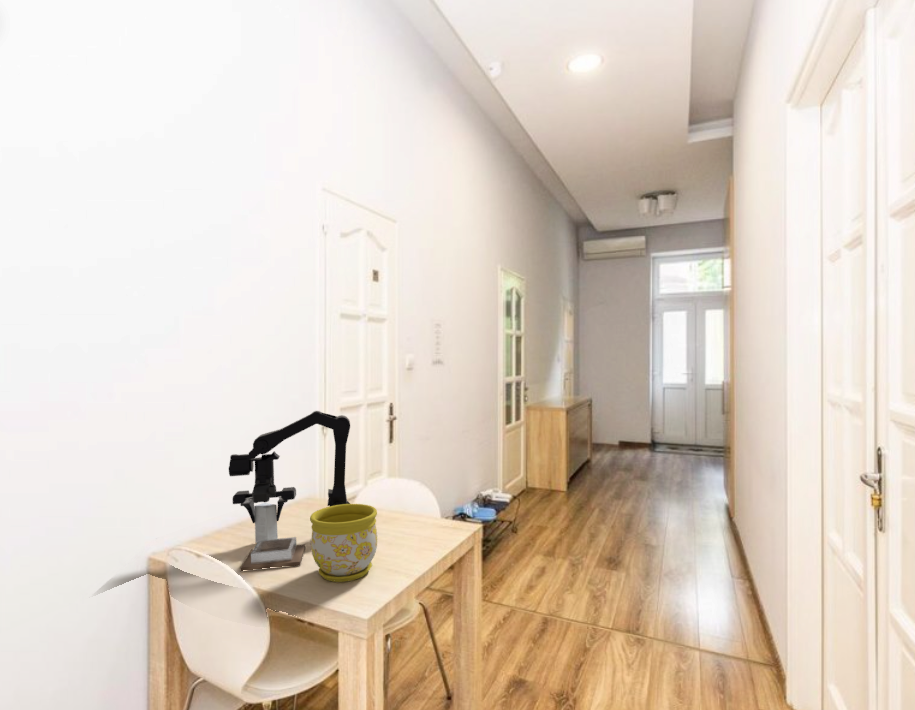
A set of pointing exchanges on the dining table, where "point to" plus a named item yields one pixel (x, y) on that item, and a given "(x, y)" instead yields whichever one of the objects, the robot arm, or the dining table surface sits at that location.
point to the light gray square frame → (277, 554)
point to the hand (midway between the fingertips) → (265, 521)
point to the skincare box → (265, 522)
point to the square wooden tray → (294, 562)
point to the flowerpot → (344, 541)
